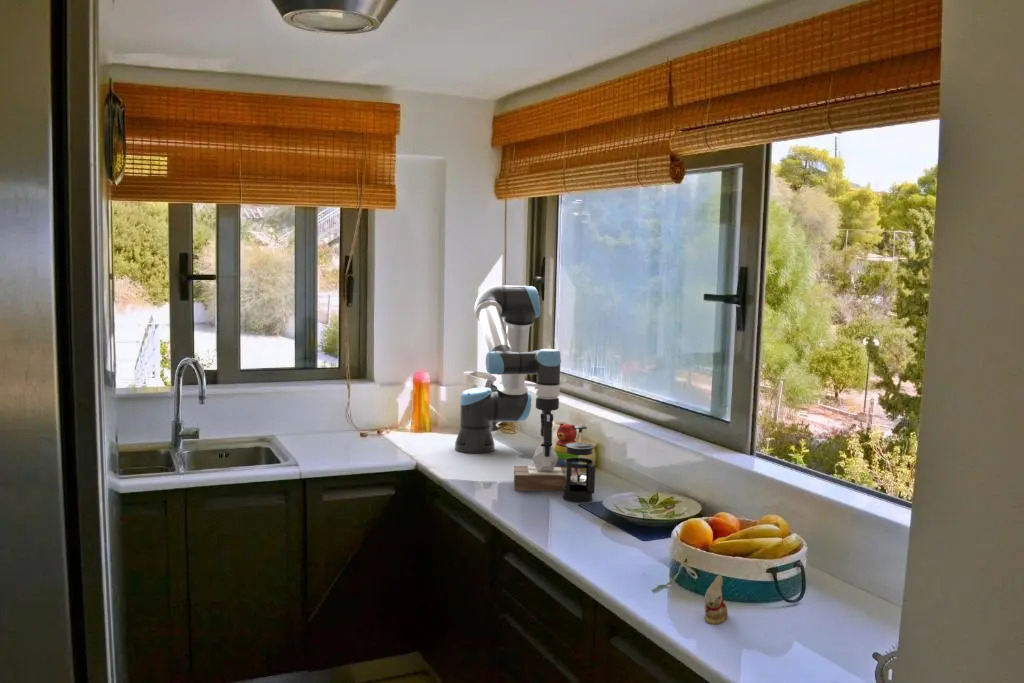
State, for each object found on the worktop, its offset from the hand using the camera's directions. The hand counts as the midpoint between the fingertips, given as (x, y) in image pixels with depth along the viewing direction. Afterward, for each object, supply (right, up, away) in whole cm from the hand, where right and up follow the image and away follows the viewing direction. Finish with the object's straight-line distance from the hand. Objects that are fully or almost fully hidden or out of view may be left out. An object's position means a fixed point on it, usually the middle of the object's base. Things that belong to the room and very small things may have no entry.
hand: (545, 460), depth 296 cm
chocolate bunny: (+33, -21, -102) cm, 109 cm away
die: (0, -3, 0) cm, 3 cm away
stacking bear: (+8, -7, +16) cm, 19 cm away
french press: (+10, -10, -13) cm, 19 cm away
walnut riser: (0, -8, +1) cm, 8 cm away
